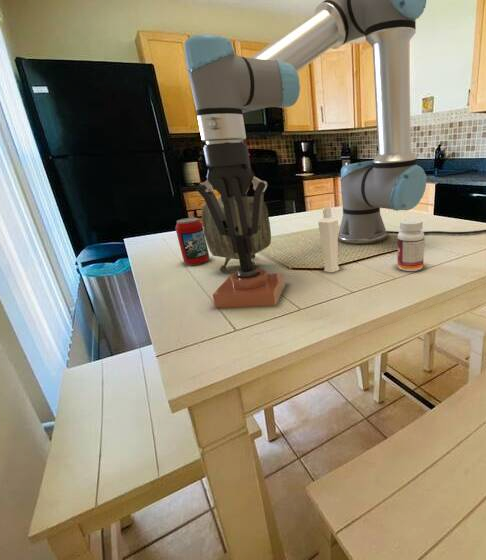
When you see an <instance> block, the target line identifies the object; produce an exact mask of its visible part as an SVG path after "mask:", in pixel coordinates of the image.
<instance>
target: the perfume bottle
mask: <svg viewBox="0 0 486 560" xmlns="http://www.w3.org/2000/svg"><path fill="white" fill-rule="evenodd" d="M321 210H322V216H323V217H322V218H321V219H319V220H317V223H318V231H319V236H320V243H321V250H322V255H323V262H324V268H323V272H327V273H334V272H337V271H340V265H339V264H338V263H339V261H338V258H339V257H338V256H339V255H338V254H339V251H338V248H339V246H338V245H339V244H338V243H339V220H338V219H337V218H334V217H333V215H332V208H331V207H323V208H322V209H321Z"/></svg>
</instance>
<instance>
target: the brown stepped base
mask: <svg viewBox="0 0 486 560" xmlns="http://www.w3.org/2000/svg"><path fill="white" fill-rule="evenodd" d="M258 273H259V275H257V276H255V277H252V278H239V276H238V271H236V272H233V273H232V274H231V275H229V276H228V277H227V278H226V279H225V280H224V281H223V282H222V283H221V285H220V286H219V287H218V288H217V289H215V291H214V292H213V293H212V298H213V303H214V307H215V309H225V308H226V309H228V308H252V307H253V308H254V307H255V308H256V307H275V306H276V305H277V303H278V301H279V299H280V297H281V295H282V293H283V291H284V289H285V287H286V281H285V280H286V279H285V274H284V273H283V272H282V273H280V272H279V273H267V271H266V270H265V269H264V268H259V267H258Z"/></svg>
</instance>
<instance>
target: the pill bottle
mask: <svg viewBox="0 0 486 560" xmlns="http://www.w3.org/2000/svg"><path fill="white" fill-rule="evenodd" d="M423 222H424V221H423V220H422V219H418V218H407V219H406V218H405V219H402V220H401V219H400V221H399V230H400V231H398V232H399V233H398V234H397V268H398V269H399V270H401V271H406V272H417V271H420V270H422V268H423V267H424V259H425V258H424V257H425V234H424V233H423V232H424V231H422V230H423V229H424V225H423V224H424V223H423Z"/></svg>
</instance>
